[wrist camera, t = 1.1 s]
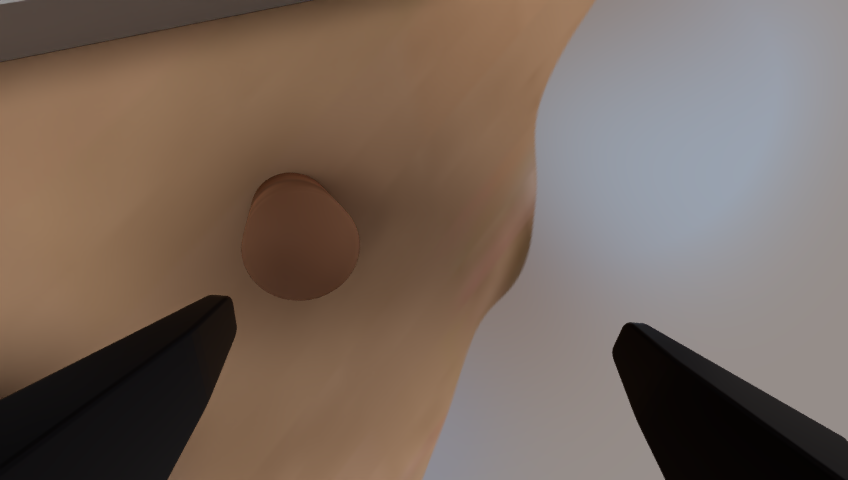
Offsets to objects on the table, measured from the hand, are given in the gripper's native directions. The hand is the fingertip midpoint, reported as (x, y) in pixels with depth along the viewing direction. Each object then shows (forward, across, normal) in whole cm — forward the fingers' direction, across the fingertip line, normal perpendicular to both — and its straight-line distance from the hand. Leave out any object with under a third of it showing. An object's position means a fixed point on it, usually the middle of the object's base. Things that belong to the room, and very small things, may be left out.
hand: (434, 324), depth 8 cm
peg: (+11, +7, +2) cm, 13 cm away
